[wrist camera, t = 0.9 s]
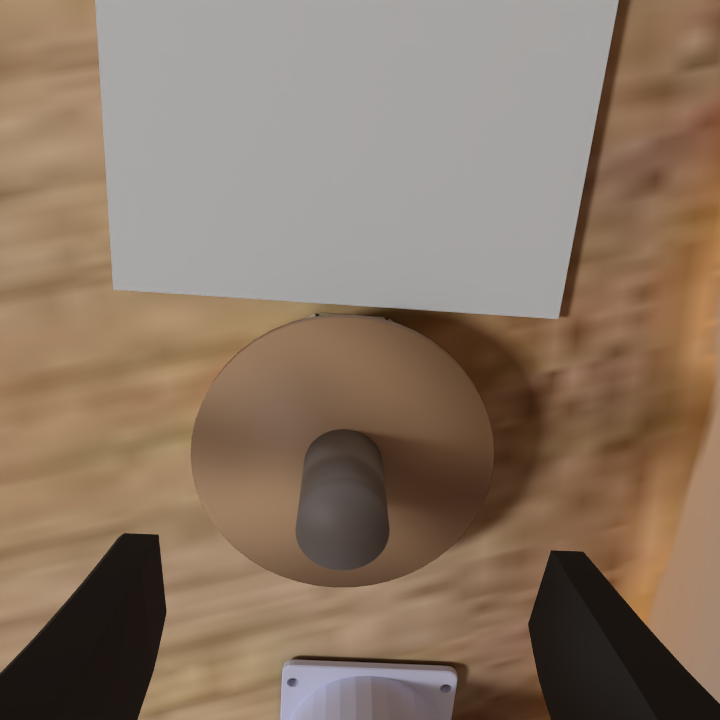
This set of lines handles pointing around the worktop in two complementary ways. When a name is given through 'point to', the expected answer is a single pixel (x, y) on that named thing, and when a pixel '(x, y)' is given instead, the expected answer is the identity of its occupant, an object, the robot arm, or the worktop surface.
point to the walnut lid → (342, 451)
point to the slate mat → (350, 148)
